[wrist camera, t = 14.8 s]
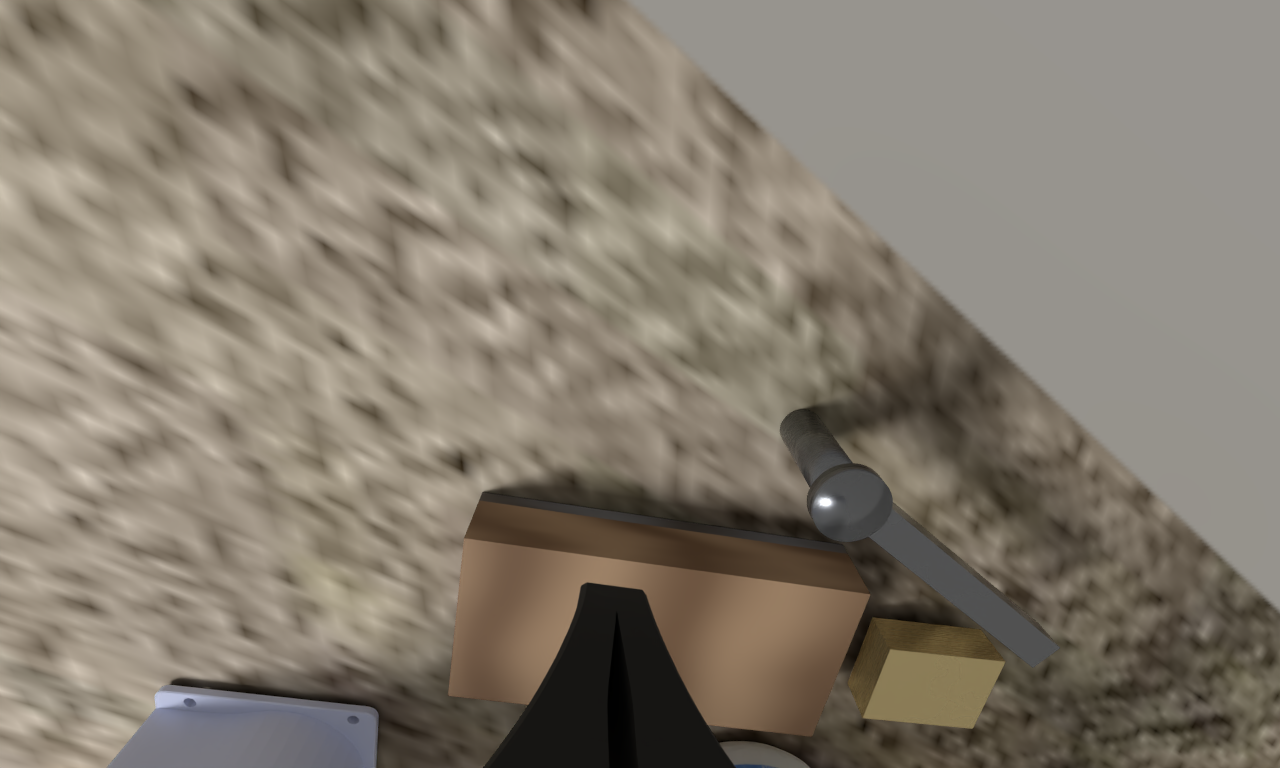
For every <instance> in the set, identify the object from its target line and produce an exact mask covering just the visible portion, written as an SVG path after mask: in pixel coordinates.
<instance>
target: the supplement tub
mask: <svg viewBox="0 0 1280 768" xmlns="http://www.w3.org/2000/svg"><path fill="white" fill-rule="evenodd" d="M719 744H720V745H721V747H722V748H723V750H724V751H725V753H726V754H727V756H728V757H729V758H730V760H731V761H732V763H733V764H734V765H735V767H736V768H810V767H809V766H808V765H807V764H806V763H804V762H803V761H802V760H800V759H799V758H797V757H796V756H794V755H792V754H790V753H788V752H786V751H784V750H781V749H778V748H776V747H773V746H770V745H767V744H763V743H758V742H749V741H729V742H721V743H719Z"/></svg>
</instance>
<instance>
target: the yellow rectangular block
mask: <svg viewBox="0 0 1280 768" xmlns="http://www.w3.org/2000/svg"><path fill="white" fill-rule="evenodd" d="M1004 664H1005V661H1004V659H1003V658H1002V657H1001V655H1000V654H999V653H998V651H997V650H996V649H995V647H994V646H993V645H992V644H991V642H990V641H989V640H988V638H987V637H986V636H985V634H984V633H983V632H982V631H981V629H972V628H963V627H954V626H945V625H936V624H927V623H918V622H909V621H901V620H892V619H883V618H874V617H872V620H871V623H870V625H869V628H868V631H867V633H866V636H865V639H864V641H863V644H862V647H861V649H860V652H859V654H858V657H857V660H856V662H855V665H854V668H853V670H852V673H851V676H850V678H849V681H848V685H849V688H850V690H851V692H852V695H853V697H854V699H855V701H856V704H857V706H858V708H859V711H860V713H861V715H862V718H867V719H877V720H887V721H898V722H908V723H918V724H929V725H939V726H949V727H960V728H970V729H973V727H974V725H975V723H976V721H977V719H978V717H979V715H980V713H981V711H982V709H983V707H984V705H985V703H986V701H987V699H988V696H989V694H990V692H991V690H992V688H993V686H994V684H995V682H996V680H997V678H998V676H999V674H1000V672H1001V670H1002V668H1003V666H1004Z"/></svg>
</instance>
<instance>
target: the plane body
mask: <svg viewBox="0 0 1280 768" xmlns="http://www.w3.org/2000/svg"><path fill="white" fill-rule="evenodd" d="M587 582H589V583H596V584H604V585H611V586H619V587H626V588H634V589H641V590H643V591H644V592H645V594H646V595H647V599H648V602H649V605H650V608H651V610H652V613H653V616H654V618H655V621H656V624H657V626H658V629H659V631H660V633H661V636H662V638H663V641H664V643H665V645H666V647H667V650H668V652H669V654H670V656H671V658H672V660H673V662H674V664H675V666H676V668H677V671H678V673H679V675H680V677H681V679H682V681H683V682H684V684H685V686H686V688H687V690H688V692H689V694H690V696H691V697H692V699H693V701H694V703H695V705H696V706H697V708H698V710H699V712H700V713H701V715H702V717H703V718H704V720H705V722H706V723H707V725H713V726H721V727H730V728H739V729H748V730H757V731H766V732H775V733H784V734H793V735H802V736H810V737H812V736H813V733H814V731H815V728H816V726H817V723H818V721H819V719H820V716H821V714H822V711H823V709H824V706H825V704H826V702H827V699H828V697H829V694H830V692H831V689H832V687H833V685H834V682H835V680H836V677H837V675H838V672H839V670H840V668H841V665H842V663H843V660H844V658H845V655H846V653H847V651H848V648H849V646H850V643H851V641H852V638H853V636H854V634H855V631H856V629H857V626H858V624H859V621H860V619H861V617H862V614H863V612H864V609H865V607H866V604H867V602H868V600H869V597H870V595H871V594H870V592H869V591H868V589H867V587H866V585H865V584H864V582H863V580H862V578H861V577H860V575H859V573H858V571H857V569H856V568H855V566H854V564H853V562H852V561H851V559H850V557H849V555H848V553H847V552H846V550H845V548H844V546H843V545H840V544H834V543H827V542H820V541H813V540H806V539H799V538H792V537H786V536H779V535H772V534H765V533H758V532H751V531H745V530H738V529H731V528H724V527H717V526H710V525H703V524H697V523H690V522H683V521H676V520H669V519H662V518H656V517H649V516H642V515H635V514H628V513H621V512H614V511H608V510H601V509H594V508H587V507H580V506H573V505H567V504H560V503H553V502H546V501H539V500H532V499H525V498H519V497H512V496H505V495H498V494H491V493H484V492H483V493H482V495H481V498H480V500H479V503H478V505H477V507H476V510H475V512H474V515H473V517H472V520H471V522H470V525H469V527H468V530H467V532H466V535H465V537H464V544H463V554H462V564H461V574H460V583H459V593H458V603H457V612H456V622H455V632H454V642H453V651H452V661H451V671H450V681H449V690H448V696H454V697H463V698H472V699H481V700H490V701H499V702H508V703H517V704H526V705H528V704H529V703H530V701H531V700H532V698H533V696H534V695H535V693H536V692H537V690H538V688H539V687H540V685H541V683H542V681H543V679H544V678H545V676H546V674H547V672H548V670H549V668H550V667H551V665H552V663H553V661H554V659H555V657H556V655H557V653H558V651H559V649H560V647H561V645H562V643H563V640H564V638H565V636H566V634H567V632H568V630H569V627H570V625H571V622H572V619H573V617H574V614H575V611H576V608H577V603H578V598H579V593H580V588H581V585H583V584H585V583H587Z"/></svg>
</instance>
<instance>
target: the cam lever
mask: <svg viewBox="0 0 1280 768" xmlns="http://www.w3.org/2000/svg"><path fill="white" fill-rule="evenodd" d="M780 434H781V437H782V439H783V441H784V443H785V444H786V446H787V448H788V450H789V451H790V453H791V455H792V457H793V459H794V460H795V462H796V464H797V466H798V467H799V469H800V471H801V473H802V474H803V476H804V478H805V480H806V482H807V483H808V485H809V487H810V489H809V492H808V496H807V507H808V511H809V513H810V515H811V517H812V519H813V521H814V523H815V525H816V527H817V528H818V529H819V531H820V532H821V533H822V534H823V535H825V536H826V537H828V538H830V539H833V540H836V541H841V542H852V541H858V540H861V539H864V538H867V537H869V538H871V539H872V540H873V541H875V542H876V543H877V544H878V545H880V546H881V547H882V548H883V549H885V550H886V551H887V552H888V553H890V554H891V555H892V556H893V557H895V558H896V559H897V560H898V561H900V562H901V563H902V564H903V565H905V566H906V567H907V568H908V569H910V570H911V571H912V572H913V573H915V574H916V575H917V576H918V577H920V578H921V579H922V580H923V581H925V582H926V583H927V584H928V585H930V586H931V587H932V588H933V589H935V590H936V591H937V592H938V593H940V594H941V595H942V596H944V597H945V598H946V599H947V600H949V601H950V602H951V603H952V604H954V605H955V606H956V607H957V608H959V609H960V610H961V611H962V612H964V613H965V614H966V615H967V616H969V617H970V618H971V619H972V620H974V621H975V622H976V623H977V624H979V625H980V626H981V627H982V628H984V629H985V630H986V631H987V632H989V633H990V634H991V635H992V636H994V637H995V638H996V639H997V640H999V641H1000V642H1001V643H1002V644H1004V645H1005V646H1006V647H1007V648H1009V649H1010V650H1011V651H1012V652H1014V653H1015V654H1016V655H1018V656H1019V657H1020V658H1021V659H1023V660H1024V661H1025V662H1026V663H1028V664H1029V665H1030V666H1031V667H1035V666H1036V665H1037V664H1039V663H1040V662H1042V661H1043V660H1044V659H1046V658H1047V657H1048V656H1050V655H1051V654H1053V653H1054V652H1055V651H1057V650H1058V649H1059V648H1060V647H1059V646H1058V645H1057V644H1056V643H1055V641H1054V640H1053V639H1052V638H1051V637H1050V636H1049V635H1048V634H1047V632H1046V631H1045V630H1044V629H1043V628H1042V627H1041V626H1040V625H1039V623H1037V622H1036V621H1035V620H1034V619H1033V618H1031V617H1030V616H1029V615H1028V614H1027V613H1025V612H1024V611H1023V610H1022V609H1021V608H1019V607H1018V606H1017V605H1016V604H1015V603H1013V602H1012V601H1011V600H1010V599H1009V598H1007V597H1006V596H1005V595H1004V594H1003V593H1001V592H1000V591H999V590H998V589H997V588H995V587H994V586H993V585H992V584H991V583H989V582H988V581H987V580H986V579H985V578H983V577H982V576H981V575H980V574H979V573H977V572H976V571H975V570H974V569H973V568H971V567H970V566H969V565H968V564H967V563H965V562H964V561H963V560H962V559H961V558H959V557H958V556H957V555H956V554H955V553H953V552H952V551H951V550H950V549H949V548H947V547H946V546H945V545H944V544H943V543H941V542H940V541H939V540H938V539H937V538H935V537H934V536H933V535H932V534H931V533H929V532H928V531H927V530H926V529H925V528H923V527H922V526H921V525H920V524H919V523H917V522H916V521H915V520H914V519H913V518H911V517H910V516H909V515H908V514H907V513H905V512H904V511H903V510H902V509H901V508H899V507H898V506H897V505H896V504H895V503H893V500H892V495H891V492H890V490H889V488H888V487H887V485H886V484H885V483H884V481H883V480H882V479H881V478H880V476H879V475H878V474H877V473H876V472H875V471H874V470H872V469H871V468H869V467H867V466H865V465H861V464H855V463H852V461H851V460H850V459H849V457H848V456H847V455H846V453H845V452H844V451H843V449H842V448H841V447H840V445H839V444H838V442H837V441H836V440H835V438H834V437H833V436H832V434H831V433H830V432H829V430H828V429H827V428H826V426H825V425H824V424H823V422H822V421H821V420H820V418H819V417H818V416H817V415H816V414H815V413H814V412H812V411H809V410H797V411H794V412H792V413H790V414H789V415H787V416H786V417H785V418H784V420H783V421H782V423H781V427H780Z"/></svg>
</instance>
